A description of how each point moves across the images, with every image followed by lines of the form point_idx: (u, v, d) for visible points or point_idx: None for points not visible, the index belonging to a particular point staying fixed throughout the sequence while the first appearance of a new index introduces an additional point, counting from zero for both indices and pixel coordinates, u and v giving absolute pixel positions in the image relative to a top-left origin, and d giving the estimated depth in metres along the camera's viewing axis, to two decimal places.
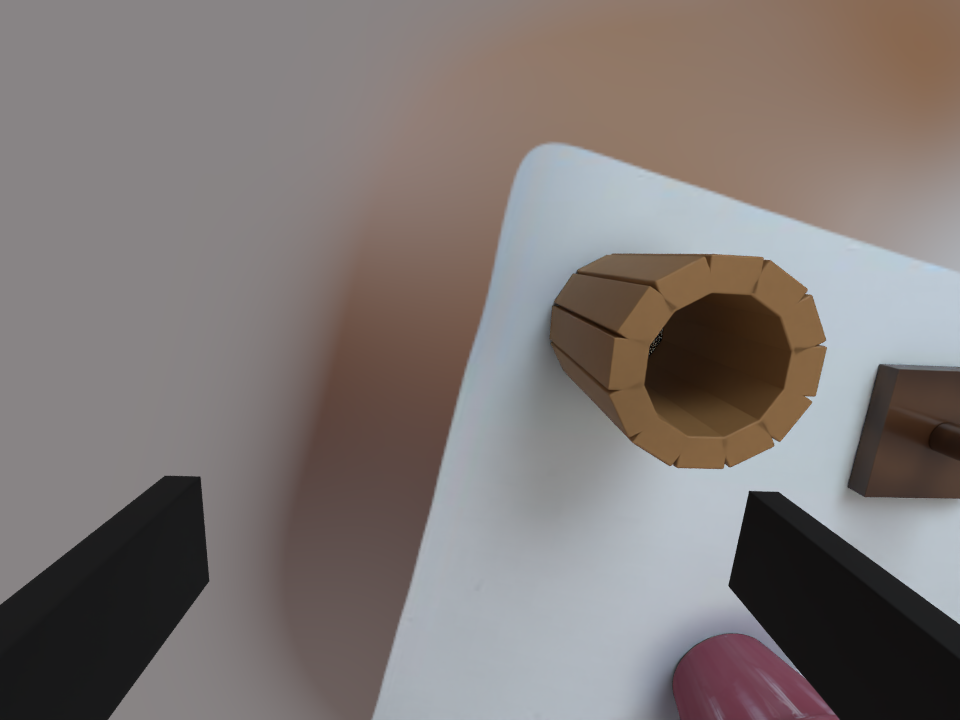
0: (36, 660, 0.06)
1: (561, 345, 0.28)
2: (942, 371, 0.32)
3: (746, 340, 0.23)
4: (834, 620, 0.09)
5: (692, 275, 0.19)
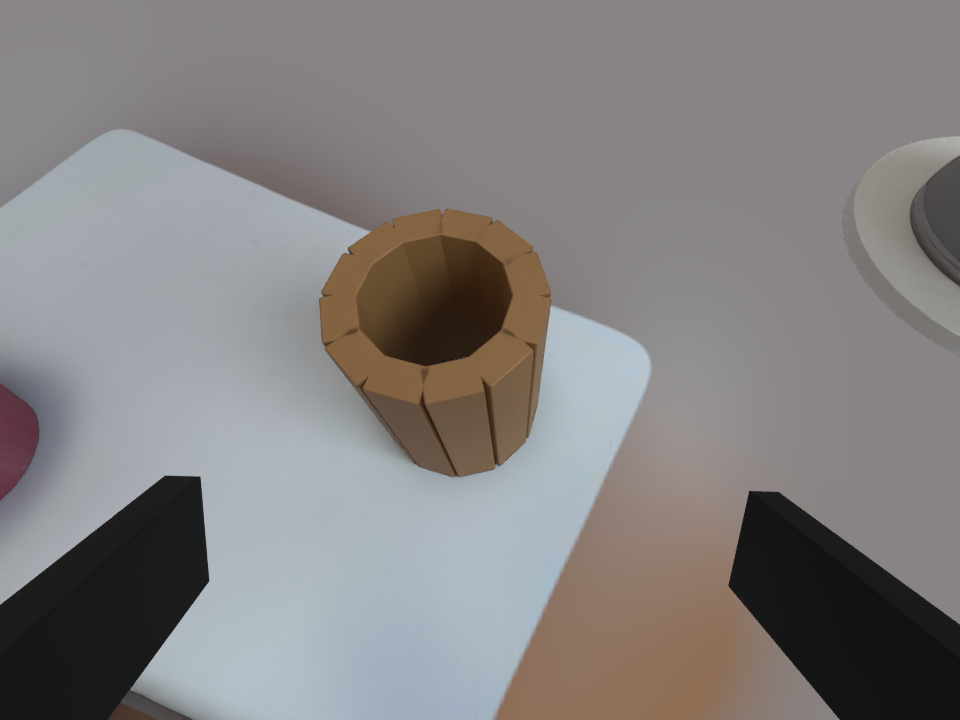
0: (36, 660, 0.06)
1: None
2: None
3: None
4: (834, 620, 0.09)
5: (534, 280, 0.19)
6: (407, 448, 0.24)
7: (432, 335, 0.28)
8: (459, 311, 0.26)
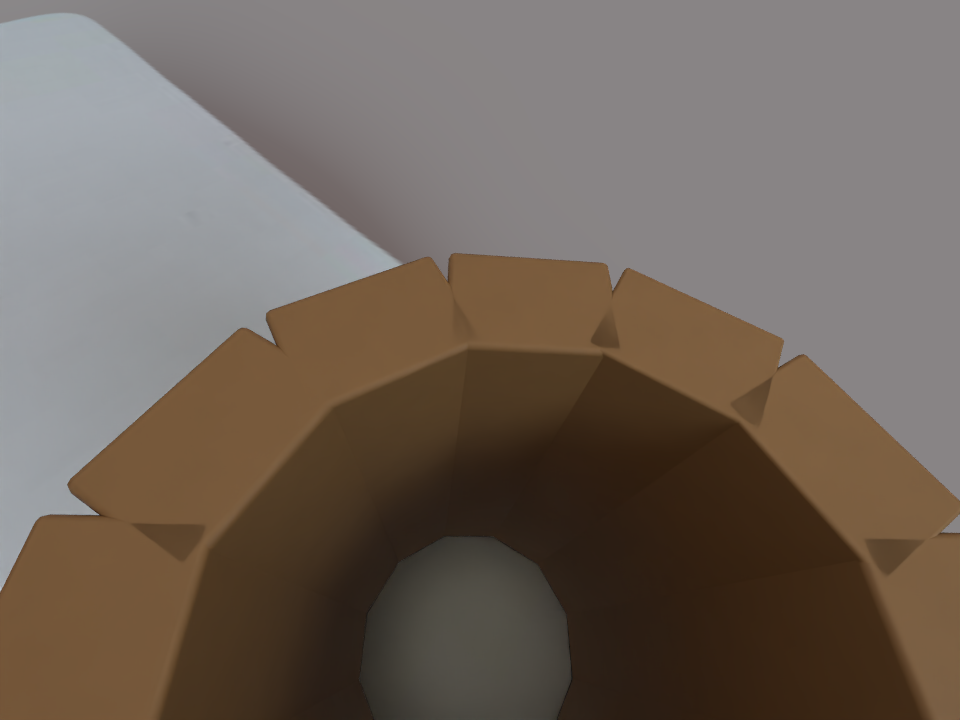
0: None
1: None
2: None
3: None
4: None
5: None
6: None
7: (449, 511, 0.13)
8: (531, 497, 0.11)
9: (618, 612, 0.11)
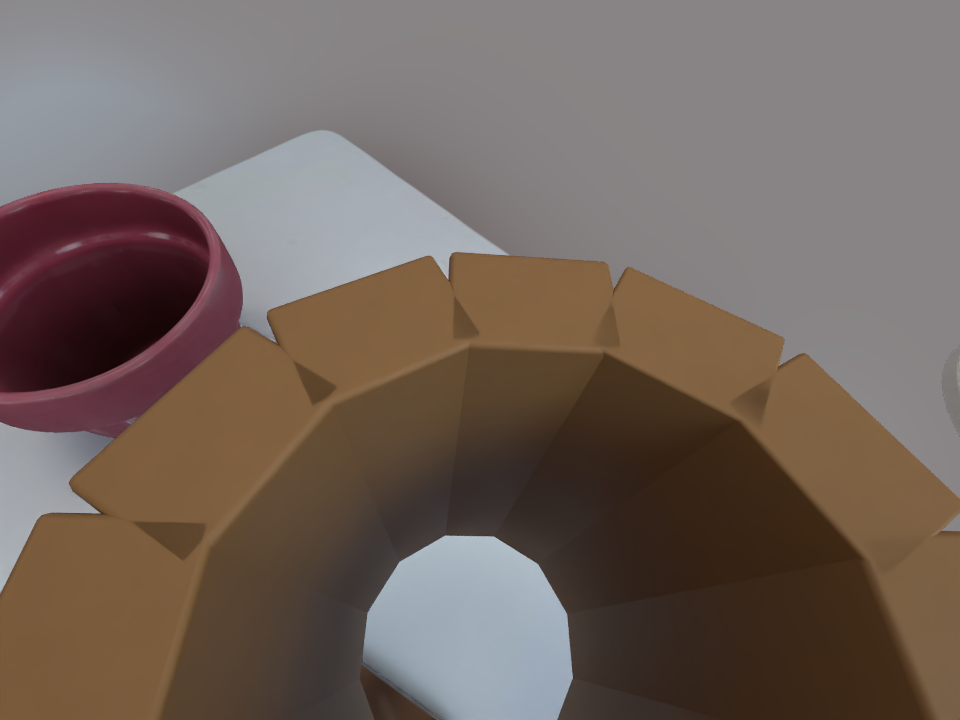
0: None
1: None
2: None
3: None
4: None
5: None
6: None
7: (449, 510, 0.13)
8: (531, 496, 0.11)
9: (618, 611, 0.11)
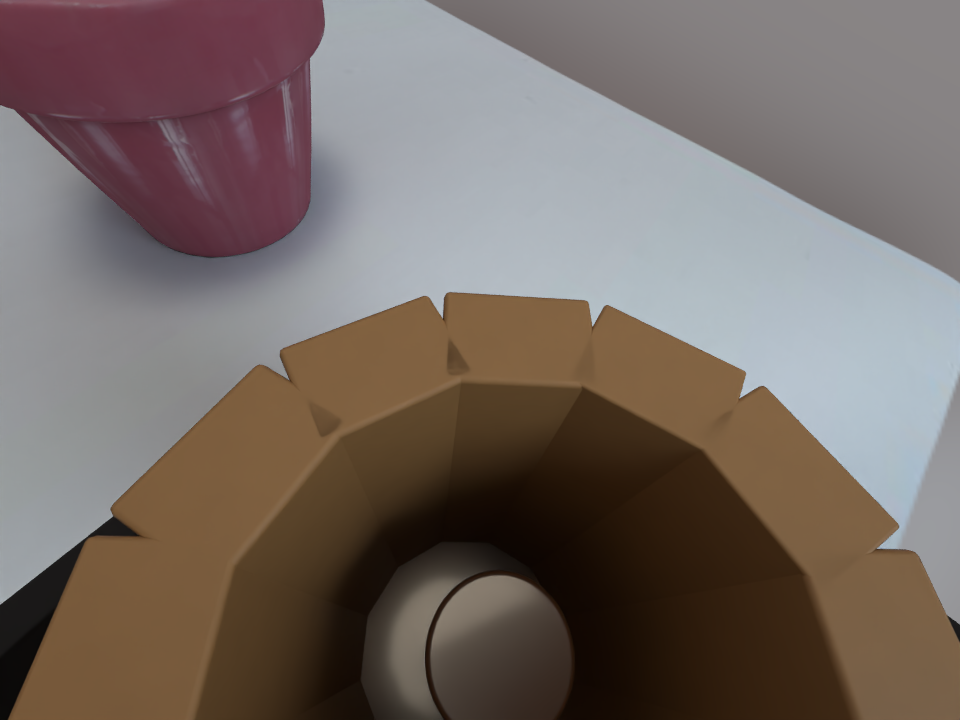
0: None
1: None
2: None
3: None
4: None
5: (948, 703, 0.05)
6: None
7: (446, 519, 0.13)
8: (523, 507, 0.11)
9: (605, 616, 0.11)
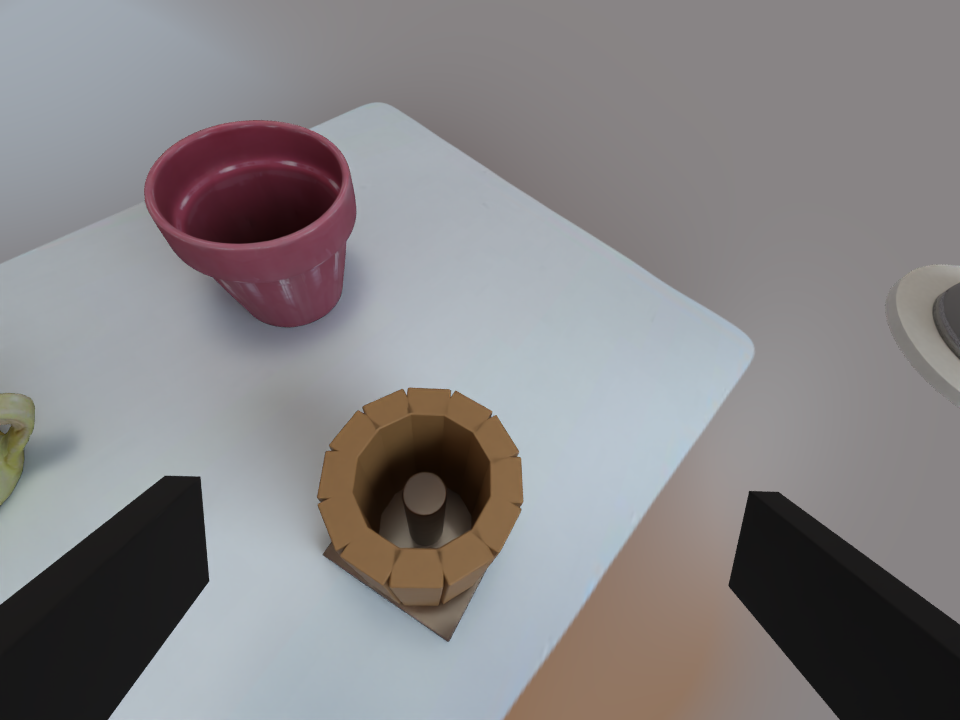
0: (36, 660, 0.06)
1: None
2: None
3: None
4: (834, 620, 0.09)
5: (512, 486, 0.22)
6: (364, 578, 0.26)
7: (416, 467, 0.30)
8: (445, 459, 0.29)
9: (476, 501, 0.28)
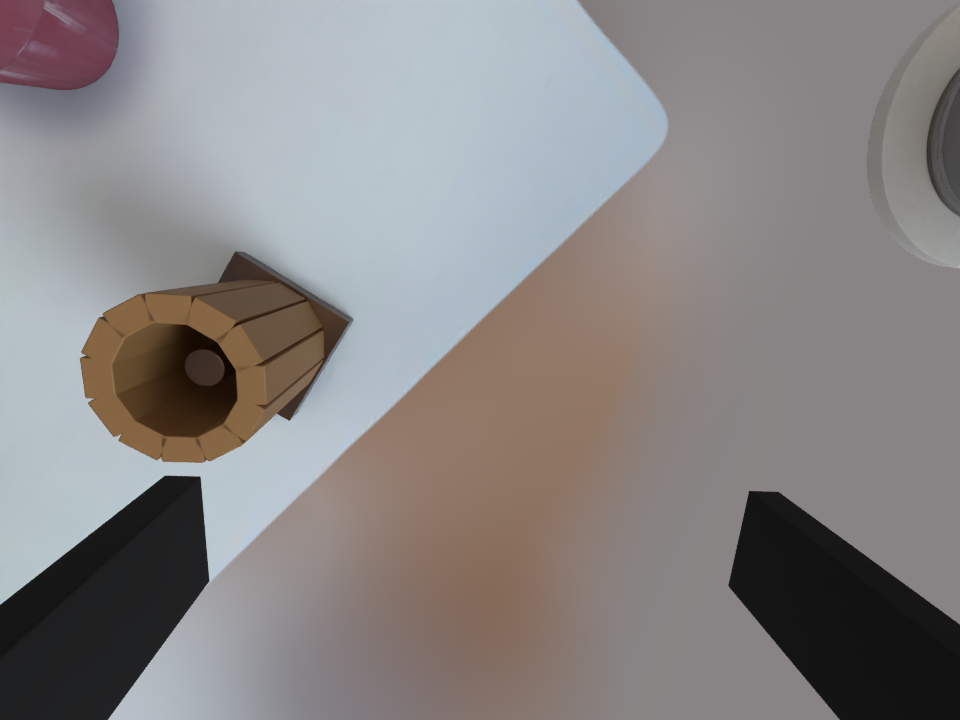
0: (36, 660, 0.06)
1: (264, 287, 0.32)
2: (328, 355, 0.37)
3: (193, 415, 0.28)
4: (834, 620, 0.09)
5: (256, 391, 0.25)
6: None
7: None
8: None
9: None
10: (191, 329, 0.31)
